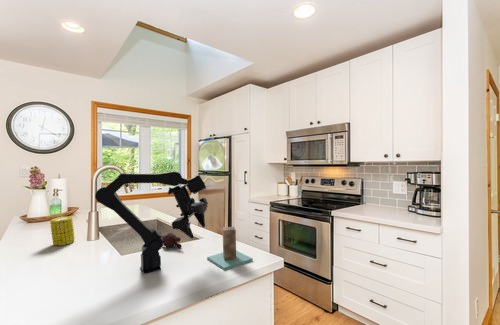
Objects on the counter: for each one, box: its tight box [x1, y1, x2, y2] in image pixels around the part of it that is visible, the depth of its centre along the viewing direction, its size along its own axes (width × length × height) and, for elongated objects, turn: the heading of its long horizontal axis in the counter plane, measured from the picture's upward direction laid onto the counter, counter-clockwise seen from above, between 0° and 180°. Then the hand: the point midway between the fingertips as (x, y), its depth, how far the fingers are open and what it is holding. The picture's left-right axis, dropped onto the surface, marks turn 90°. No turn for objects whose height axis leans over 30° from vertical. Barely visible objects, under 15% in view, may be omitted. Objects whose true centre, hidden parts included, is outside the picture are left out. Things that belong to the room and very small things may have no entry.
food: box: [50, 215, 76, 246], centre depth 135 cm, size 15×12×10 cm
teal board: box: [206, 250, 254, 271], centre depth 108 cm, size 14×14×1 cm
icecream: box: [162, 232, 183, 249], centre depth 127 cm, size 7×7×15 cm
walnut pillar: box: [222, 226, 237, 261], centre depth 108 cm, size 5×5×12 cm
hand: (198, 232), depth 108 cm, fingers open, 9 cm apart
